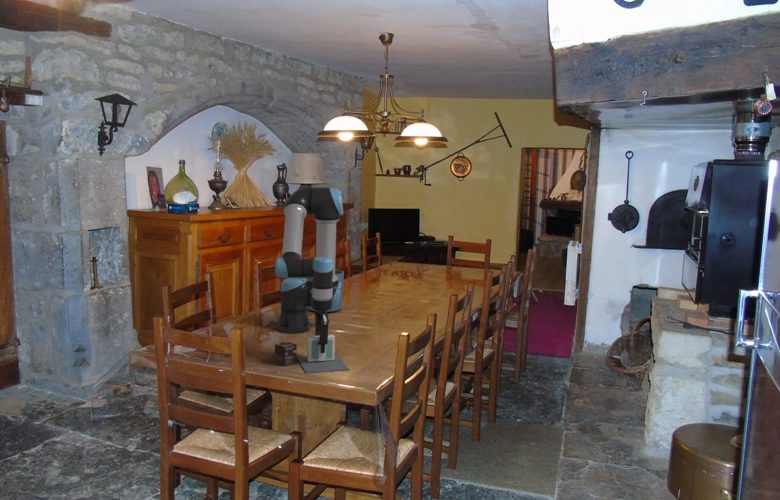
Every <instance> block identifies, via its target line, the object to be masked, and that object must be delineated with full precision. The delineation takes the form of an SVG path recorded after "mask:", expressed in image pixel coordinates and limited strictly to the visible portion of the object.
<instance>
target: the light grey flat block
mask: <svg viewBox="0 0 780 500" xmlns="http://www.w3.org/2000/svg"><path fill="white" fill-rule="evenodd" d="M306 343H307V344H306V345H307V346H306V348H307V349H306V353H307V354H306V357H307V360H308V361H309V362H311V361H318V347H319V345H318V344H317V343H319V336H315V335H310V336H309V335H307V342H306ZM335 353H336V336H335V335H334V334H328V344H326V360H335V355H336V354H335Z"/></svg>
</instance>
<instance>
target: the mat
mask: <svg viewBox="0 0 780 500" xmlns="http://www.w3.org/2000/svg"><path fill="white" fill-rule="evenodd" d="M297 360H298V361H297V362H298V363H299V365H300V366H301V368H302V369H303V371H304V373H305V374H313V373H314V374H316V373H331V372H344V371H350V369H349V367H348V365H346V363H345V362H344V360H342V358H341V357H340V356H339V355H338V354H335V360H326V361H311V362H309V361H308V360H307V356H297Z"/></svg>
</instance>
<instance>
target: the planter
mask: <svg viewBox="0 0 780 500" xmlns="http://www.w3.org/2000/svg"><path fill="white" fill-rule="evenodd" d="M335 275H336V276H337V277H338V281H340V282H341V291H340V298H339V302H338V305H337V306H335V307H332V309H331V310H327V313H328V312H330V313H331V312H336V311H339V310H340V311H342V309H343V308H342V307H343V299H344V297H343V296H344V295H343V294H344V284H345V283H344V279H345V278H344V277H345V272H344V270H342V269H337V268H335ZM307 279H308V281H312V278H307ZM307 310H309V311H312V312H317V310H314V309H312V307H307Z"/></svg>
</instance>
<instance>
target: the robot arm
mask: <svg viewBox="0 0 780 500" xmlns="http://www.w3.org/2000/svg"><path fill="white" fill-rule="evenodd" d="M283 208H284V209H283V215H284V216H285V221H284V231H283V243H282V250H281V257H277V258H276V259H275V265H274V268H275V269H274V272H275V276H276V277H277V278H285V279H283V280H282V281H281V285H280V313H279V317H278V320H277V322H276V330H277V331H278V332H280V333H286V334H287V333H288V334H301V333H305V332H309V331H310V330H311V321H310V318H309V315H308V309H307V307H312V309H314V310H317V312H316V311H314V319H315V321H314V326H315V327H314V336H319V343H317V344H318V345H319V347H318V361H326V344H328V335H329V324H330V319H329V314H328V312H327V310H331V309H332V307H335V306H337V305H338V302H339V298H340V291H341V282H340V281H338V277H337V276H336V275H335V269H336V253H337V249H336V248H337V222H339V221H340V219H341V216H343V215H344V205H343V196H342V191H341V189H339V188H338V187H337V188H335V187H324V186H323V187H321V186H320V187H316V186H311V187H310V186H304V187H300V188H298V189H296V190H295V191H293V192H292V193H291V195H290V196H289V197H288V198H287V200H286V201H285V204H284V207H283ZM307 215H313V216H312V217H313V220H314V221H315V222H316V233H315V234H316V236H315V237H316V238H315V240H316V241H315V242H316V245H315V251H316V252H315V257H314V258H302V253H303V252H302V249H303V248H302V247H303V238H304V237H303V236H304V235H303V234H304V223H305V220H304V219H305V218H306V217H307ZM307 278H312V281H308V279H307Z"/></svg>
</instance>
